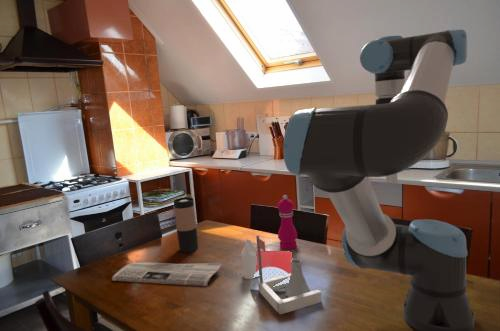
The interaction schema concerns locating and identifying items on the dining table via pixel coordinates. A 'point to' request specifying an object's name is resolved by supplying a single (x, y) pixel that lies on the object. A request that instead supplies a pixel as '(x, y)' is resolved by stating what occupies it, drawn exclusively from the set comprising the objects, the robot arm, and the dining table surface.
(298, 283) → the flask
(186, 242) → the travel mug
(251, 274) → the grey piece
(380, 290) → the dining table surface
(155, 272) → the newspaper
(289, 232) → the pepper mill
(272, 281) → the white u-shaped stand
